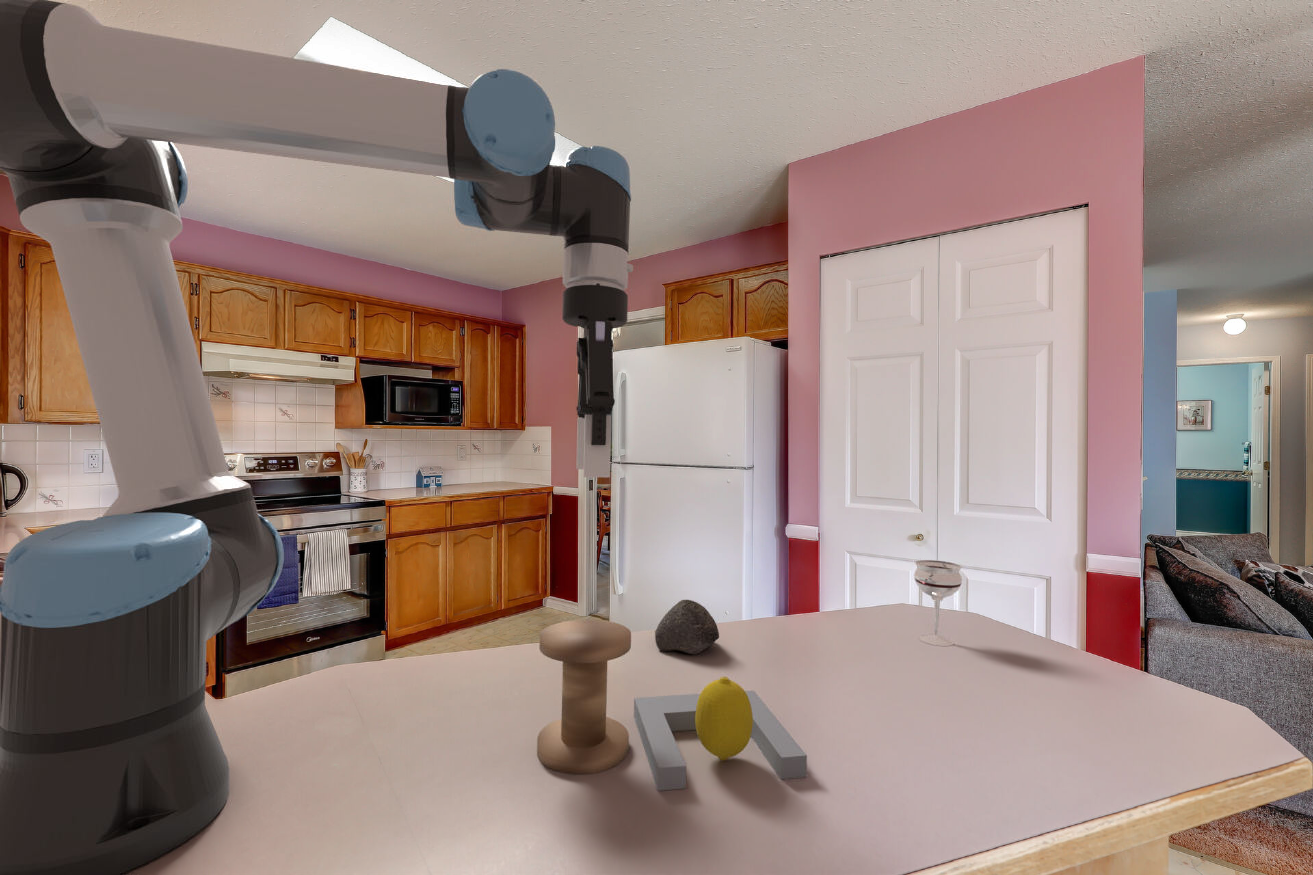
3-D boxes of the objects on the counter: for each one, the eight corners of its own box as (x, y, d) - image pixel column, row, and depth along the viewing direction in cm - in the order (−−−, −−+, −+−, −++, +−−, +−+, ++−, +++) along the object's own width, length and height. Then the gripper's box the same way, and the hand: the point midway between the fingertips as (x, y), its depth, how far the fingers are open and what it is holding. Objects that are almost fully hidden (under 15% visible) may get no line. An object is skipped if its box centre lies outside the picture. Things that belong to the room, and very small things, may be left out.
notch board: (657, 790, 52) (658, 767, 52) (633, 715, 65) (634, 697, 65) (806, 776, 54) (806, 755, 54) (753, 707, 68) (753, 690, 68)
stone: (657, 662, 91) (635, 631, 85) (683, 615, 96) (665, 582, 89) (712, 688, 86) (693, 657, 79) (737, 637, 90) (721, 603, 83)
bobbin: (536, 778, 53) (539, 652, 53) (537, 728, 62) (540, 621, 62) (634, 769, 55) (637, 647, 55) (622, 723, 64) (624, 618, 64)
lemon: (751, 779, 54) (752, 692, 54) (691, 772, 55) (692, 686, 55) (752, 748, 59) (754, 668, 59) (698, 742, 60) (699, 663, 60)
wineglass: (959, 637, 94) (960, 562, 94) (961, 650, 88) (963, 571, 88) (912, 630, 97) (914, 558, 97) (912, 643, 91) (914, 566, 91)
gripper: (645, 262, 57) (640, 481, 57) (615, 313, 81) (611, 467, 81) (567, 255, 55) (562, 481, 55) (560, 310, 80) (556, 466, 80)
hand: (591, 473), depth 68 cm, fingers open, 13 cm apart
